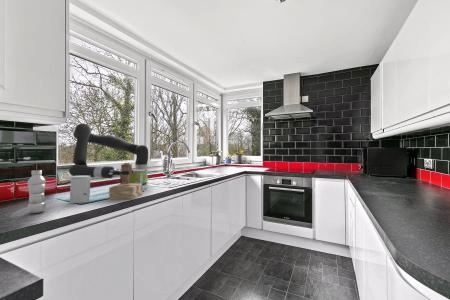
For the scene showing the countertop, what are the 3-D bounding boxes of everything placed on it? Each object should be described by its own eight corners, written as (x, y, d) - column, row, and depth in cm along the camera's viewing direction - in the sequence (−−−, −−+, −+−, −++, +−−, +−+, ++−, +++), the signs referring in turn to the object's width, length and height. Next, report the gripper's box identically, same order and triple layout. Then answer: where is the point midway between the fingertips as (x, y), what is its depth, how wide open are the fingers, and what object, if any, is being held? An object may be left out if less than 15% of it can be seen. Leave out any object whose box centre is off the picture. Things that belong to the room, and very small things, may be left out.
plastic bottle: (44, 209, 100) (44, 169, 100) (47, 212, 96) (47, 170, 96) (26, 213, 95) (26, 170, 95) (28, 216, 91) (28, 171, 91)
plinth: (121, 194, 135) (121, 183, 135) (142, 194, 135) (142, 183, 135) (109, 199, 121) (109, 187, 121) (132, 199, 121) (132, 187, 121)
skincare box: (69, 203, 112) (69, 176, 112) (74, 201, 117) (73, 175, 117) (87, 202, 114) (87, 176, 114) (90, 200, 120) (90, 174, 120)
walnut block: (124, 182, 130) (124, 162, 130) (131, 182, 130) (131, 162, 130) (121, 183, 126) (121, 163, 126) (128, 184, 126) (128, 163, 126)
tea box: (146, 189, 153) (146, 169, 153) (140, 191, 143) (139, 170, 143) (127, 188, 154) (127, 169, 154) (119, 191, 144) (119, 170, 144)
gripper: (96, 167, 121) (125, 167, 121) (110, 165, 136) (136, 165, 135) (96, 179, 121) (125, 180, 121) (110, 176, 136) (136, 176, 135)
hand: (130, 172), depth 128 cm, fingers closed on walnut block, 4 cm apart
